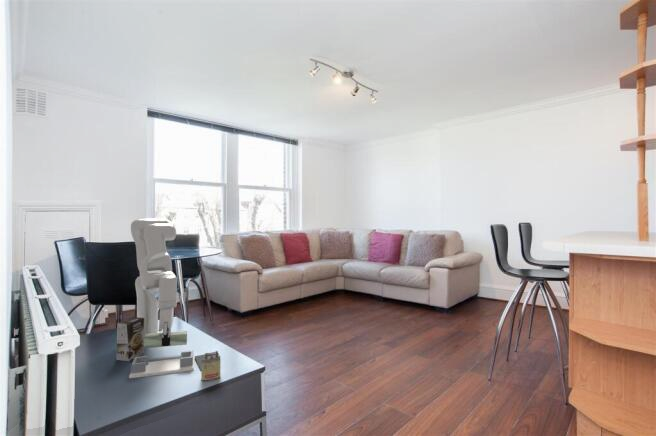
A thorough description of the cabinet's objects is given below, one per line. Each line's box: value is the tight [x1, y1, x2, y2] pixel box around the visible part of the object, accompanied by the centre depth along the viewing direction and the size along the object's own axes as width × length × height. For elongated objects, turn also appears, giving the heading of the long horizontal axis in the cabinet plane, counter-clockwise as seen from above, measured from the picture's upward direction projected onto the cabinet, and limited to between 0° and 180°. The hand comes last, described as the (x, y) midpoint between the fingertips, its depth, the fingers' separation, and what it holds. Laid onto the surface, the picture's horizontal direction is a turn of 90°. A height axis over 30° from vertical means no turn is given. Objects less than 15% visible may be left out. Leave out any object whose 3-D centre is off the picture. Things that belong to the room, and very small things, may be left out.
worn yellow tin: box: [200, 350, 222, 381], centre depth 132 cm, size 7×4×10 cm, turn 119°
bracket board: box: [128, 350, 195, 379], centre depth 139 cm, size 11×23×4 cm, turn 110°
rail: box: [144, 330, 188, 349], centre depth 152 cm, size 4×17×5 cm, turn 110°
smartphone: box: [194, 353, 205, 372], centre depth 145 cm, size 7×1×15 cm
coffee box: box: [116, 316, 145, 362], centre depth 150 cm, size 9×6×16 cm
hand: (166, 343), depth 152 cm, fingers closed on rail, 3 cm apart
